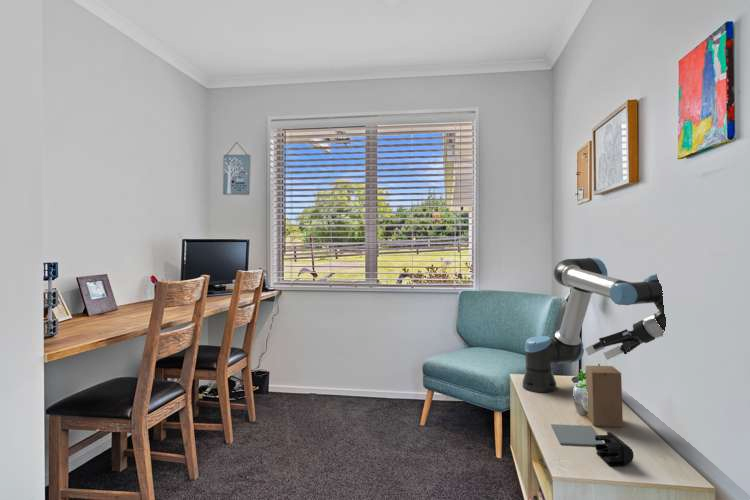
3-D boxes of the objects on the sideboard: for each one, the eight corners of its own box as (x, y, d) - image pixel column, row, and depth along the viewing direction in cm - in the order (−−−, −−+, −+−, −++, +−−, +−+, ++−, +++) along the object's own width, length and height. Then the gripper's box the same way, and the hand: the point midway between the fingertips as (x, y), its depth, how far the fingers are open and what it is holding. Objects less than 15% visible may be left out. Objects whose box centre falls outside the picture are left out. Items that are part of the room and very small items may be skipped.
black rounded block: (634, 467, 135) (633, 445, 135) (610, 468, 136) (609, 445, 136) (617, 452, 145) (616, 431, 145) (595, 452, 146) (594, 431, 146)
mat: (551, 425, 168) (551, 424, 168) (591, 427, 165) (591, 425, 165) (560, 444, 152) (560, 442, 152) (605, 446, 149) (605, 444, 149)
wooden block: (623, 427, 164) (621, 373, 164) (593, 426, 166) (592, 372, 166) (614, 417, 174) (612, 365, 174) (586, 416, 176) (585, 365, 176)
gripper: (638, 333, 150) (583, 359, 162) (670, 343, 164) (617, 367, 176) (627, 313, 154) (574, 340, 167) (659, 325, 168) (608, 349, 181)
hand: (596, 354), depth 172 cm, fingers open, 13 cm apart
